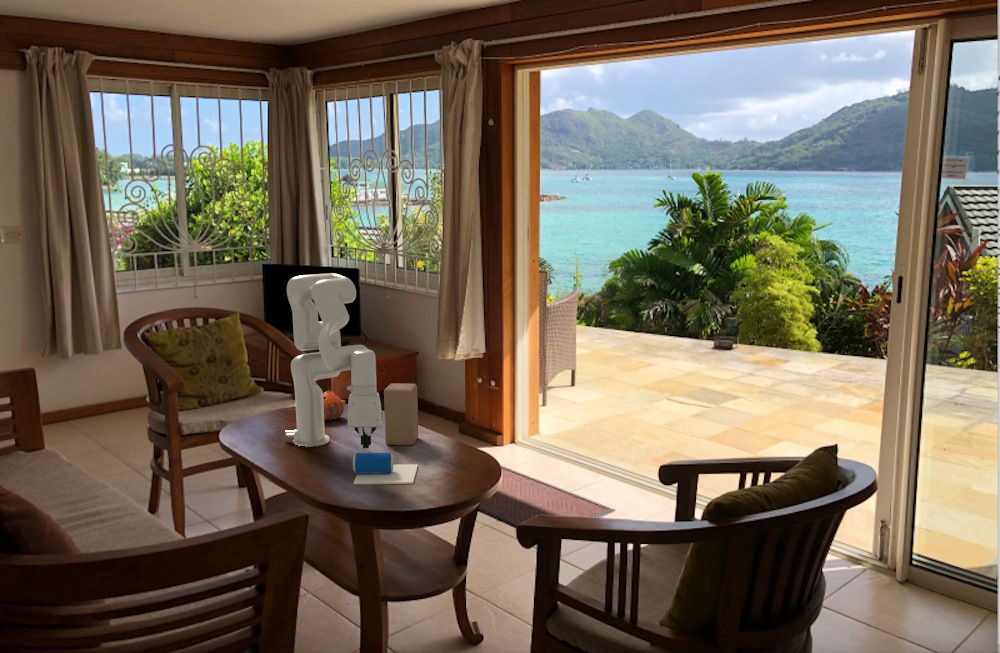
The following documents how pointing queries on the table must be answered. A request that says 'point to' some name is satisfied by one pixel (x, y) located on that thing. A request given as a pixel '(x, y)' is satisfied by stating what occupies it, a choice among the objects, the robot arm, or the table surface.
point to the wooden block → (401, 414)
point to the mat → (390, 476)
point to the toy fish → (332, 406)
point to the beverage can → (373, 463)
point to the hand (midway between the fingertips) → (366, 447)
